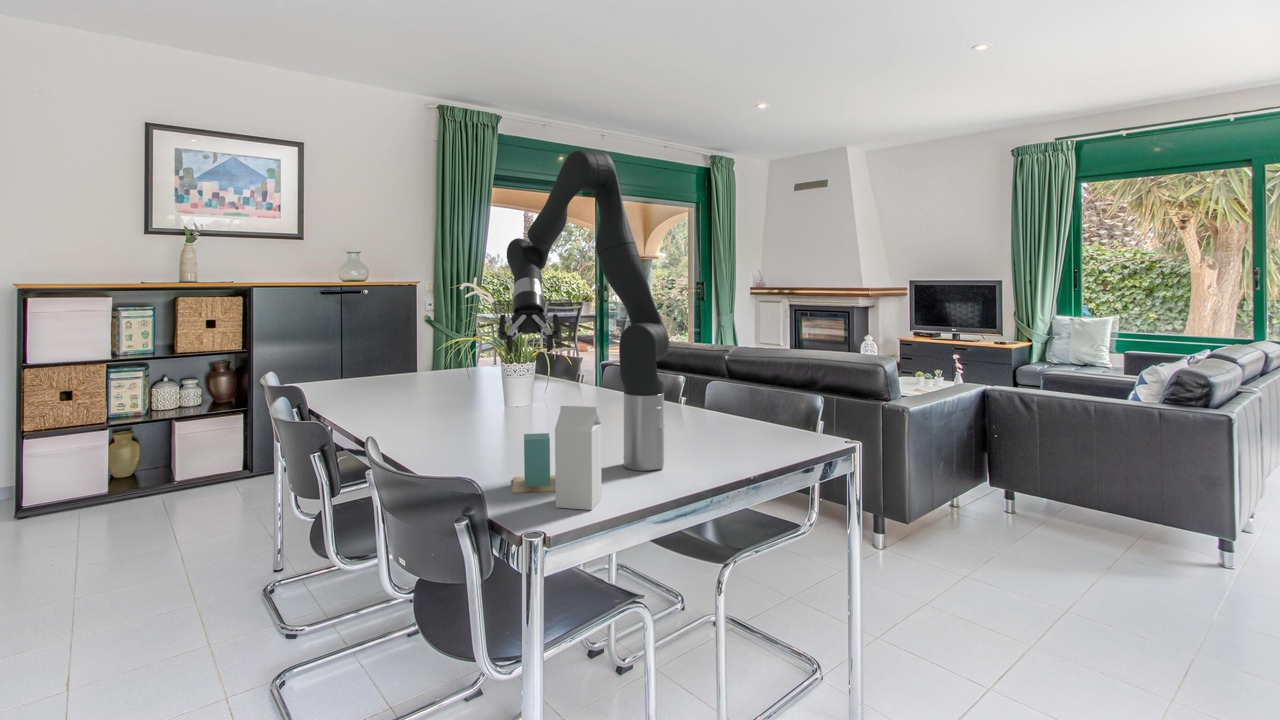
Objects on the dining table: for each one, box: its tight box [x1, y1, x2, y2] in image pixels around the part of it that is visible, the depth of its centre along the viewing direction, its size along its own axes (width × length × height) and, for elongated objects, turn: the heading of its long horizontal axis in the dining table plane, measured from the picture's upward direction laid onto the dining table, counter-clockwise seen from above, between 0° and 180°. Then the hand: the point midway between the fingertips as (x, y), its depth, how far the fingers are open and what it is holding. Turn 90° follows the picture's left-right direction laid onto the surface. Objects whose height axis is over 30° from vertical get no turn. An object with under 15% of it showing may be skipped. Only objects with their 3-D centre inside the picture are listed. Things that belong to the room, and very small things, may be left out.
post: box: [512, 475, 556, 494], centre depth 140 cm, size 10×10×8 cm
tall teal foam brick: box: [523, 432, 551, 487], centre depth 140 cm, size 5×5×10 cm
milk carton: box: [554, 404, 603, 511], centre depth 127 cm, size 7×7×19 cm
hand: (530, 350), depth 155 cm, fingers open, 8 cm apart
